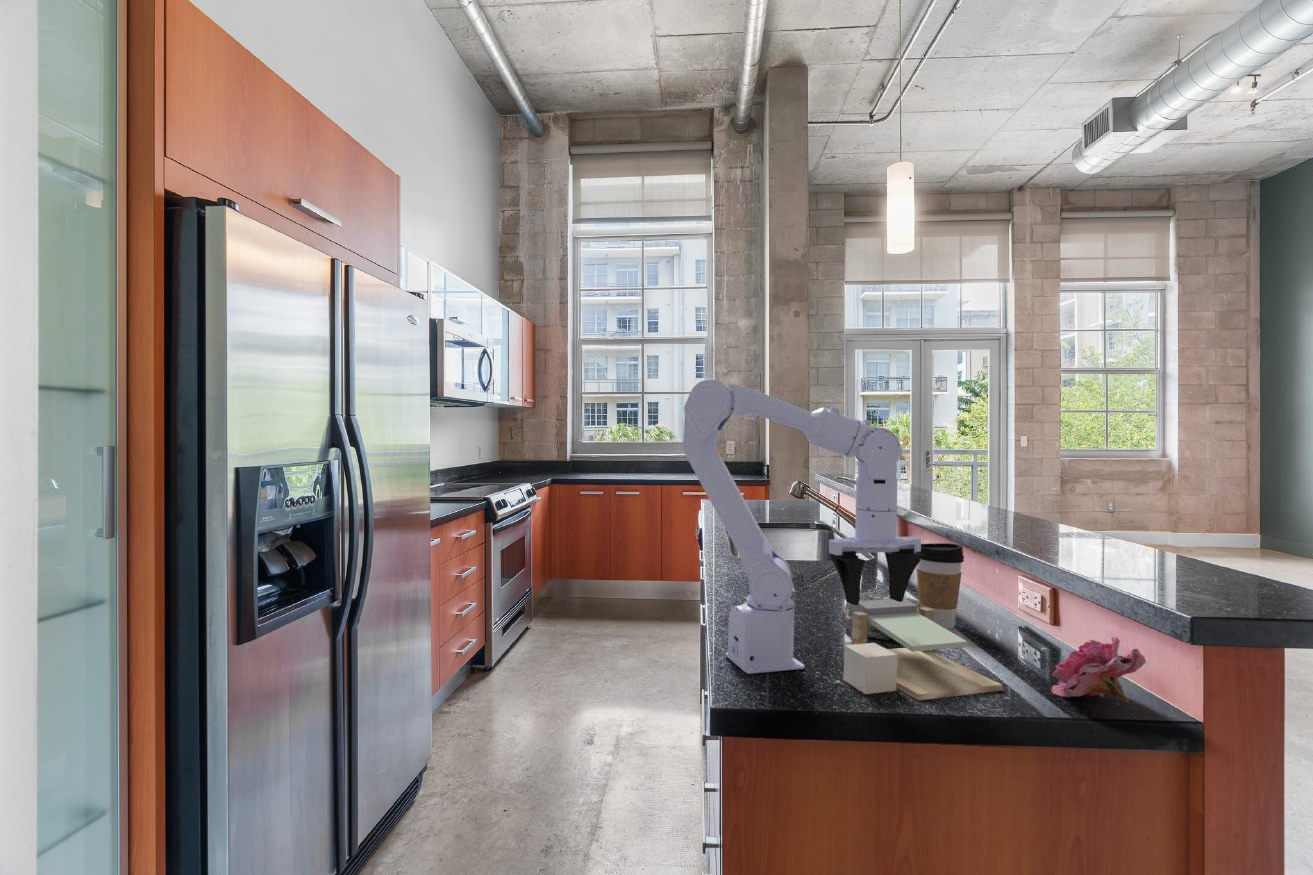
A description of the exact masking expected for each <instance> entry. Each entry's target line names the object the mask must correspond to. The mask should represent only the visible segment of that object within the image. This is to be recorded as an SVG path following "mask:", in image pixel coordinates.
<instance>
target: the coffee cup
mask: <svg viewBox="0 0 1313 875" xmlns="http://www.w3.org/2000/svg"><path fill="white" fill-rule="evenodd" d="M963 549H964V548H963V545H961V544H956V543H951V542H949V543H947V542H946V543H945V542H944V543H943V542H942V543H941V542H940V543H936V542H935V543H921V551H919V552H914V553H917V554H920V562H919V563H918V565H917V567H916V579H917V593H918V601H919V603H920V605H921V608H925V607H928V608H930V609H933V610H934V622H935V623H936V624H938V625H940V626H941V627H943V628H945V629H947V630H951V629H954V628H955V627H956V626H955V624H956V618H957V609H958V603H959V596H960V595H959V594H960V587H961V579H962V571H961V570H962V563H964V561H965V560H964V559H965V556H964V551H963Z"/></svg>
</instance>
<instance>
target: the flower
mask: <svg viewBox="0 0 1313 875" xmlns="http://www.w3.org/2000/svg"><path fill="white" fill-rule="evenodd" d="M1111 640H1112V642H1111V643H1107V642H1106V643H1103V642H1100V641H1097V640H1094V639H1089V641H1085V642H1084V643H1083V644H1081V645H1080V646H1078V650H1073V651H1071V652H1069V654H1068V658H1066V659H1065V662H1059V663H1057V664H1056V665H1055V668H1056V669H1055V670H1054V671H1053V673H1052V674H1051V676H1052V677H1054V678H1055V679H1056V680H1058V681H1061V682H1057V684H1055V685H1053V686H1051V693H1053V695H1056V696H1058V697H1062V698H1071V697H1083V696H1084V695H1086V696H1090V697H1095V696H1099V695H1101V694H1102V695H1104V694H1106V695H1109V696H1111V697H1113V698H1115V699H1117V700H1119V701H1122V700H1123V702H1126V703H1127V704H1129V705H1130V706H1131V707H1133V709H1135V710H1137V708H1136V707H1135V706H1133V705H1132V703H1130V702H1129V699H1127V697H1126V695H1125V692H1124V689H1123V686H1122V684H1121V683H1120V681H1119V678H1120V677H1123V676H1125V675H1127V674H1132V673H1136V672H1137V670H1139V669H1141V668H1142V667H1143V666H1144V665H1145V664H1146V658H1145V655H1142V653H1141V651H1140V650H1139V649H1138V648H1133V649H1132V650H1130V651H1128V652H1127V653H1126V654H1125V655H1123V656H1122V655H1119V654H1118V653H1119V652H1118V650H1119V646H1120V642H1121V641H1120V639H1119V637H1116V636H1114V635H1113V636H1112V637H1111Z"/></svg>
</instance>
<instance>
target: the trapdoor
mask: <svg viewBox="0 0 1313 875" xmlns="http://www.w3.org/2000/svg"><path fill="white" fill-rule="evenodd" d="M905 598H906V597H904V598H903V602H898V601H895V600H893V599H889V598H885V599H886V600H869V601H859V604H858V605H855V612H863V613H865V614H867V615H868V621H867V627H876V628H878V629H879V630H881V631H882V632H884V633H885V634H887V635H888V636H890V637H891V638H892V639H891V640H894V641H896V642H897V643H898V644H900V645H901V646H903V648H907V649H909V650H910V651H912V652H915V651H926V650H933V651H935V650H943V649H945V650H948V649H957V648H958V649H959V648H966V647H967V645H968V641H967V640H965V639H964V638H962V637H960V636H958V635H957V634H955V633H953V632H951V631H950V630H949V629H945V628H943V627H941V626H940V625H938V624H936V623H935V622H933V621H931V620H929V619H928V618H926V617H924V616H923V615H921V614H919V613H917V606H918V605H916V604H914V603H912V602H910V601H909V600H907V599H905Z"/></svg>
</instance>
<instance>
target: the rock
mask: <svg viewBox="0 0 1313 875" xmlns="http://www.w3.org/2000/svg"><path fill="white" fill-rule="evenodd" d="M904 598H905V599H907V600H909V601H910V602H912V603H914V604H916V605H918V606H917V613H919V608H921V605H920V603H919V599H914V598H909V597H908V598H906V597H904ZM886 599H887V598H884V597H873V596H870V595H868V594H862V593H860V599H859V601H869V600H886ZM888 599H890V597H889V598H888ZM852 612H855V605H852V604H850V603H848V602H846V603H845V606H844V610H843V612H842V616H841V624H842V627H843V628H844V629H846V630H848V632H849V633H850V634H851V635H852ZM867 638H874V639H878V640H882V641H886V640H893V639H892V638H891V637H890V636H888V635H887V634H885V633H884V632H882V631H881V630H879V629H878V628H876V627H867Z"/></svg>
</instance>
